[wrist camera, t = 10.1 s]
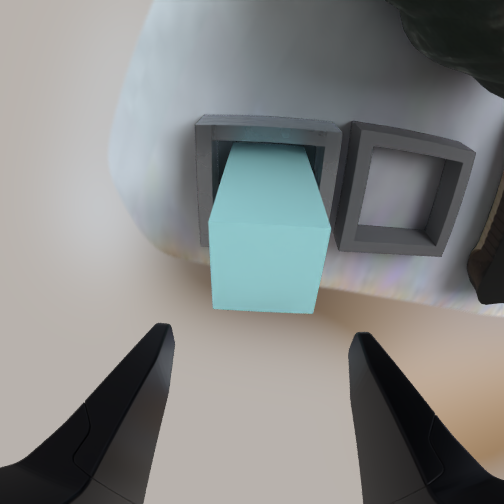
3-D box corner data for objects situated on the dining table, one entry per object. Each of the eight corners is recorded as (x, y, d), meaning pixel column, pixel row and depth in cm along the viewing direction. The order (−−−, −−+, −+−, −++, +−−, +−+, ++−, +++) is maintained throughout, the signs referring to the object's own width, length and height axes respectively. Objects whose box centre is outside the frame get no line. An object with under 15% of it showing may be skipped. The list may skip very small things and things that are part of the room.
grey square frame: (460, 141, 16) (476, 152, 15) (430, 240, 21) (441, 256, 19) (352, 120, 17) (361, 129, 15) (333, 233, 21) (338, 251, 19)
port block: (333, 121, 17) (342, 133, 15) (317, 229, 21) (323, 252, 19) (203, 114, 17) (195, 125, 15) (207, 224, 21) (200, 246, 19)
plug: (303, 146, 18) (331, 228, 10) (296, 207, 20) (312, 313, 13) (233, 142, 18) (208, 221, 10) (232, 203, 20) (212, 308, 13)
